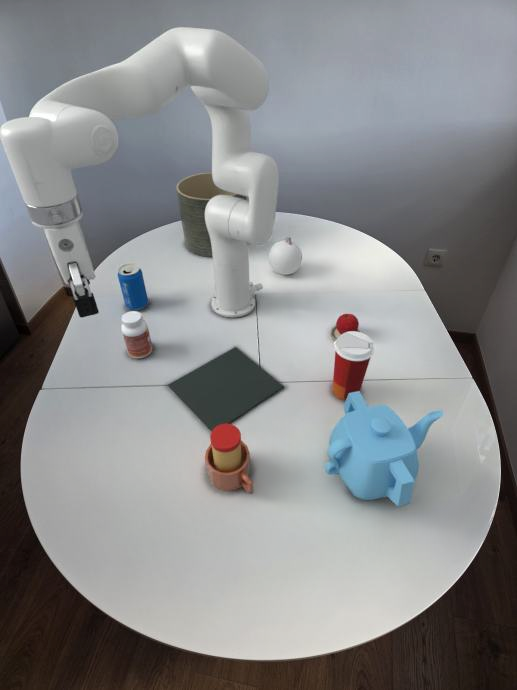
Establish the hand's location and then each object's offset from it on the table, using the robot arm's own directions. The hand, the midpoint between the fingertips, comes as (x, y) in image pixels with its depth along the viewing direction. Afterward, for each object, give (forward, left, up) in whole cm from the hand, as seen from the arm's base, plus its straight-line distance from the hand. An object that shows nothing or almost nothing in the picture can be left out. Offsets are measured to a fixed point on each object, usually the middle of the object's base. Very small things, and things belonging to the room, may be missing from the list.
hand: (85, 299), depth 77 cm
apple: (-56, +18, -29) cm, 65 cm away
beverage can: (-21, -30, -29) cm, 47 cm away
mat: (-21, +12, -29) cm, 37 cm away
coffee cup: (-41, +31, -29) cm, 59 cm away
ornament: (-65, -15, -29) cm, 73 cm away
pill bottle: (-12, -12, -29) cm, 34 cm away
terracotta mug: (-8, +31, -29) cm, 43 cm away
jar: (-8, +30, -28) cm, 42 cm away
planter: (-60, -45, -29) cm, 80 cm away
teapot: (-30, +48, -29) cm, 63 cm away
